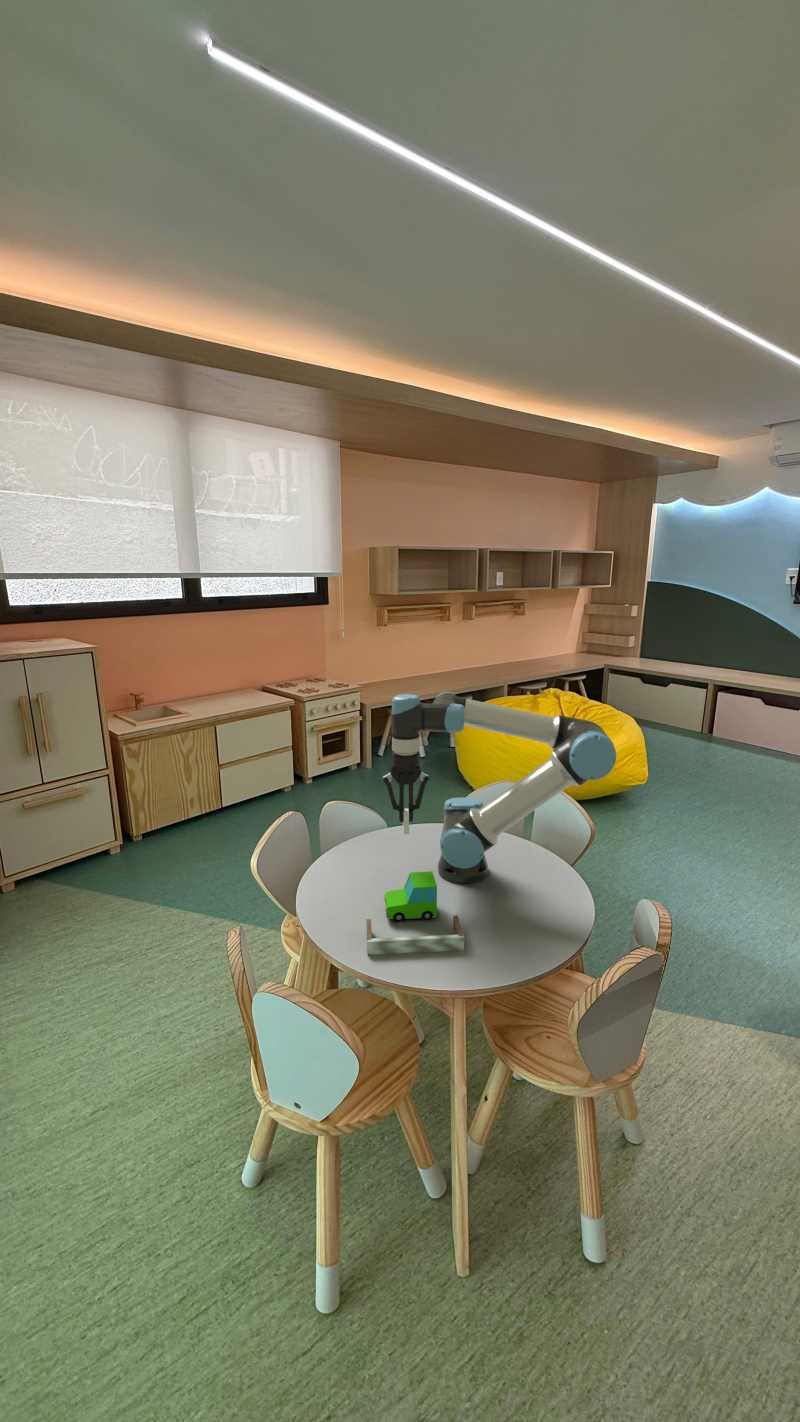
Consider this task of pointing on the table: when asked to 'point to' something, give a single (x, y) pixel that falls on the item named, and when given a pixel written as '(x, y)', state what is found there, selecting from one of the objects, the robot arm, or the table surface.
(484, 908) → the table surface
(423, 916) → the toy car
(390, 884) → the table surface
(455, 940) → the bay
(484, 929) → the table surface
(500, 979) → the table surface
